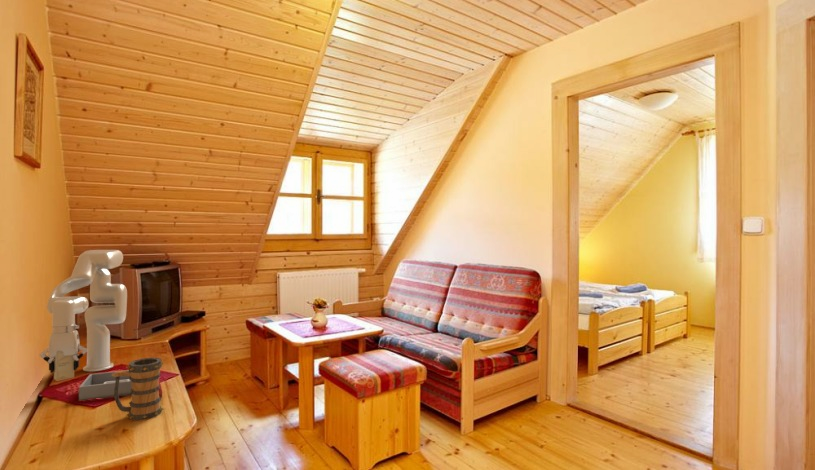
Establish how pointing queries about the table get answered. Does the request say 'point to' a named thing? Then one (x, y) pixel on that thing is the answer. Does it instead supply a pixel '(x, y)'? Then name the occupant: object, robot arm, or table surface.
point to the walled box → (104, 386)
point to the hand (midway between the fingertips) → (64, 370)
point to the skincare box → (63, 366)
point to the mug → (141, 388)
